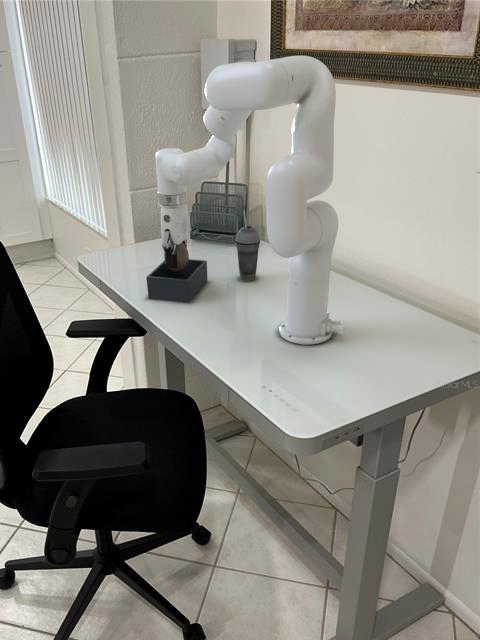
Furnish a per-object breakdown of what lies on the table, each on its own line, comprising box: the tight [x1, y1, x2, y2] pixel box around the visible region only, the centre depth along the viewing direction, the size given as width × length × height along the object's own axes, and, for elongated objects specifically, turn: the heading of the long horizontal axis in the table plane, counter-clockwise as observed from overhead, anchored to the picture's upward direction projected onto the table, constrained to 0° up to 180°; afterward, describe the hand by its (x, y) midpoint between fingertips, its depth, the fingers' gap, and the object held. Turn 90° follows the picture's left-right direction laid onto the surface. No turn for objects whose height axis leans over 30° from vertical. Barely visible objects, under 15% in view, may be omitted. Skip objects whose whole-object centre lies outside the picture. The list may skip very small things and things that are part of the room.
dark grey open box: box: [145, 258, 209, 304], centre depth 168 cm, size 12×15×7 cm
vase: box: [163, 241, 190, 271], centre depth 164 cm, size 7×7×9 cm
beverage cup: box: [234, 209, 261, 282], centre depth 169 cm, size 7×7×20 cm
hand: (176, 262), depth 165 cm, fingers closed on vase, 7 cm apart
